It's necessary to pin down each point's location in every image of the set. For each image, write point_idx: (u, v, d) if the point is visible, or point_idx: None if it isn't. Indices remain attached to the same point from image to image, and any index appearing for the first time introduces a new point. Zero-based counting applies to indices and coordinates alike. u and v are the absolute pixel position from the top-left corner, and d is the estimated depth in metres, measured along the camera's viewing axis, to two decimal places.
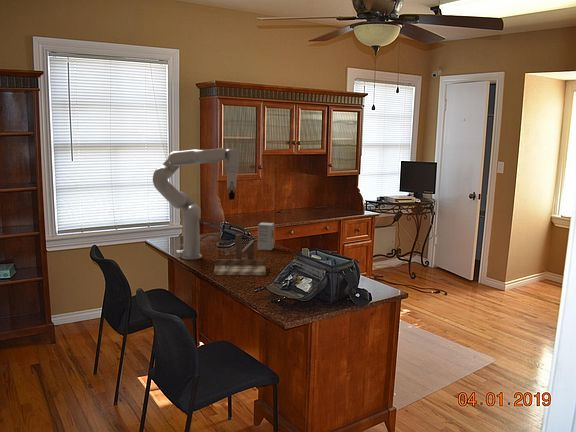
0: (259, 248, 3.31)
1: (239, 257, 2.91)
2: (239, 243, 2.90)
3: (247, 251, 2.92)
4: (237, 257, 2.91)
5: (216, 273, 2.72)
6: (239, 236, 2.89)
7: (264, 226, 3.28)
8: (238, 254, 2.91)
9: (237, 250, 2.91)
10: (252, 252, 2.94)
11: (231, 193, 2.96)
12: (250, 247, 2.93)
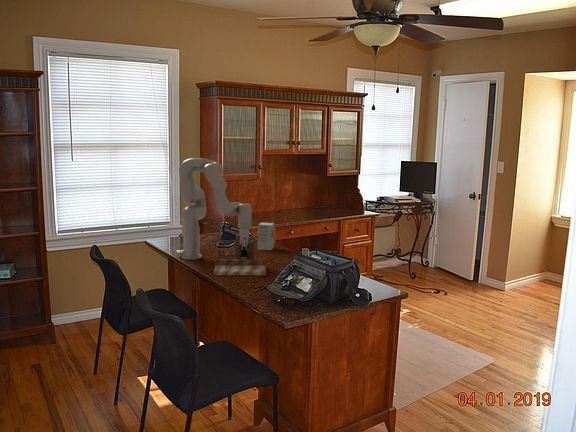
0: (259, 248, 3.31)
1: (239, 257, 2.91)
2: (239, 243, 2.90)
3: (247, 251, 2.92)
4: (237, 257, 2.91)
5: (216, 273, 2.72)
6: (239, 236, 2.89)
7: (264, 226, 3.28)
8: (238, 254, 2.91)
9: (237, 250, 2.90)
10: (252, 252, 2.93)
11: (244, 251, 2.90)
12: (250, 247, 2.92)
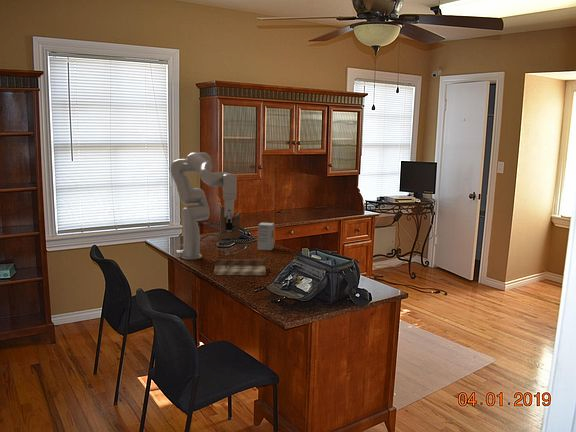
0: (259, 248, 3.31)
1: (224, 230, 2.77)
2: None
3: (232, 224, 2.78)
4: (222, 230, 2.77)
5: (216, 273, 2.72)
6: None
7: (264, 226, 3.28)
8: (223, 227, 2.77)
9: (221, 222, 2.77)
10: (238, 225, 2.79)
11: (228, 223, 2.76)
12: (235, 220, 2.78)
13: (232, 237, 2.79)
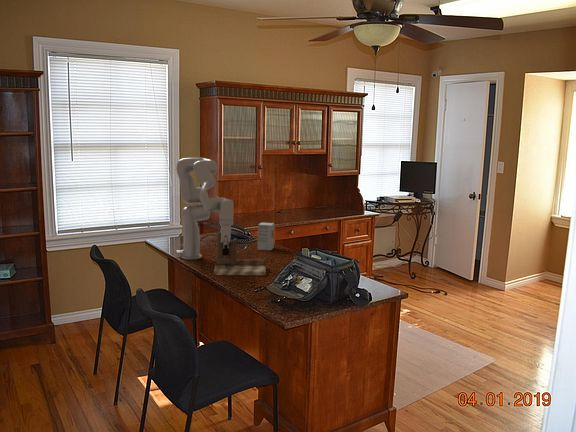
0: (259, 248, 3.31)
1: (221, 256, 2.78)
2: (220, 241, 2.76)
3: (229, 249, 2.79)
4: (218, 256, 2.78)
5: (216, 273, 2.72)
6: (220, 233, 2.76)
7: (264, 226, 3.28)
8: (219, 252, 2.77)
9: (218, 248, 2.77)
10: (234, 251, 2.80)
11: (225, 249, 2.76)
12: (232, 245, 2.79)
13: (229, 262, 2.80)
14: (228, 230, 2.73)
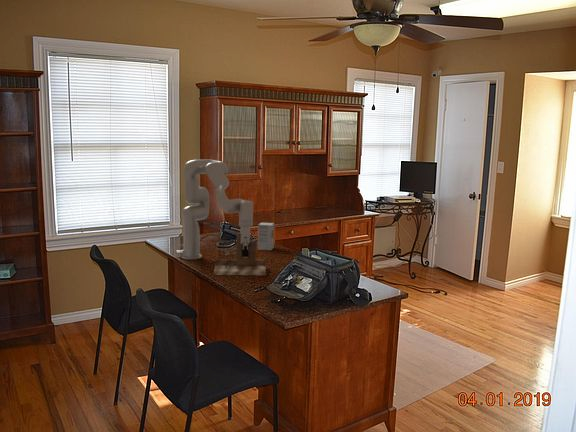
0: (259, 248, 3.31)
1: (240, 257, 2.79)
2: None
3: (248, 250, 2.79)
4: (238, 257, 2.79)
5: (216, 273, 2.72)
6: (240, 235, 2.77)
7: (264, 226, 3.28)
8: (239, 253, 2.78)
9: (238, 249, 2.78)
10: (254, 252, 2.81)
11: (245, 250, 2.77)
12: (252, 246, 2.80)
13: (248, 263, 2.81)
14: (248, 231, 2.74)
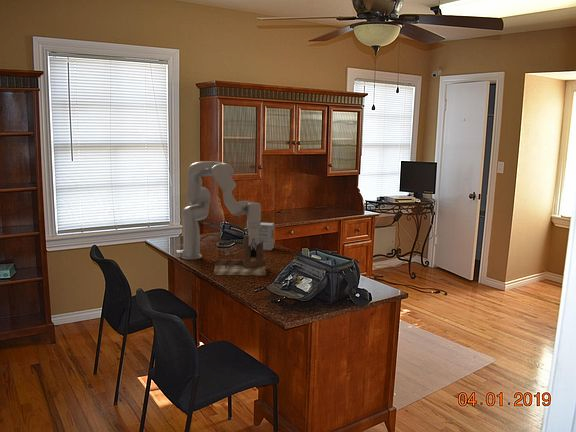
0: None
1: (247, 259, 2.79)
2: (247, 244, 2.78)
3: (256, 253, 2.80)
4: (245, 259, 2.79)
5: (216, 273, 2.72)
6: (247, 237, 2.77)
7: (264, 226, 3.28)
8: (246, 256, 2.79)
9: (245, 251, 2.79)
10: (261, 254, 2.81)
11: (253, 251, 2.75)
12: (259, 248, 2.80)
13: (256, 265, 2.81)
14: (256, 233, 2.75)
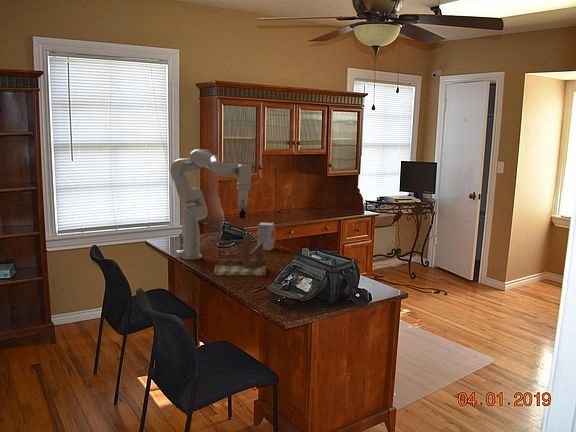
0: None
1: (247, 259, 2.79)
2: (247, 244, 2.78)
3: (256, 253, 2.80)
4: (245, 259, 2.79)
5: (216, 273, 2.72)
6: (247, 237, 2.77)
7: (264, 226, 3.28)
8: (246, 256, 2.79)
9: (245, 251, 2.79)
10: (261, 254, 2.81)
11: (242, 212, 2.79)
12: (259, 248, 2.80)
13: (256, 265, 2.81)
14: (245, 194, 2.79)
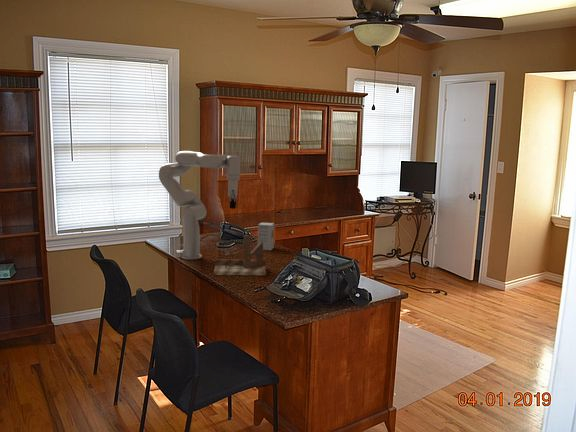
0: None
1: (247, 259, 2.79)
2: (247, 244, 2.78)
3: (256, 253, 2.80)
4: (245, 259, 2.79)
5: (216, 273, 2.72)
6: (247, 237, 2.77)
7: (264, 226, 3.28)
8: (246, 256, 2.79)
9: (245, 251, 2.79)
10: (261, 254, 2.81)
11: (232, 202, 2.85)
12: (259, 248, 2.80)
13: (256, 265, 2.81)
14: (235, 185, 2.85)
